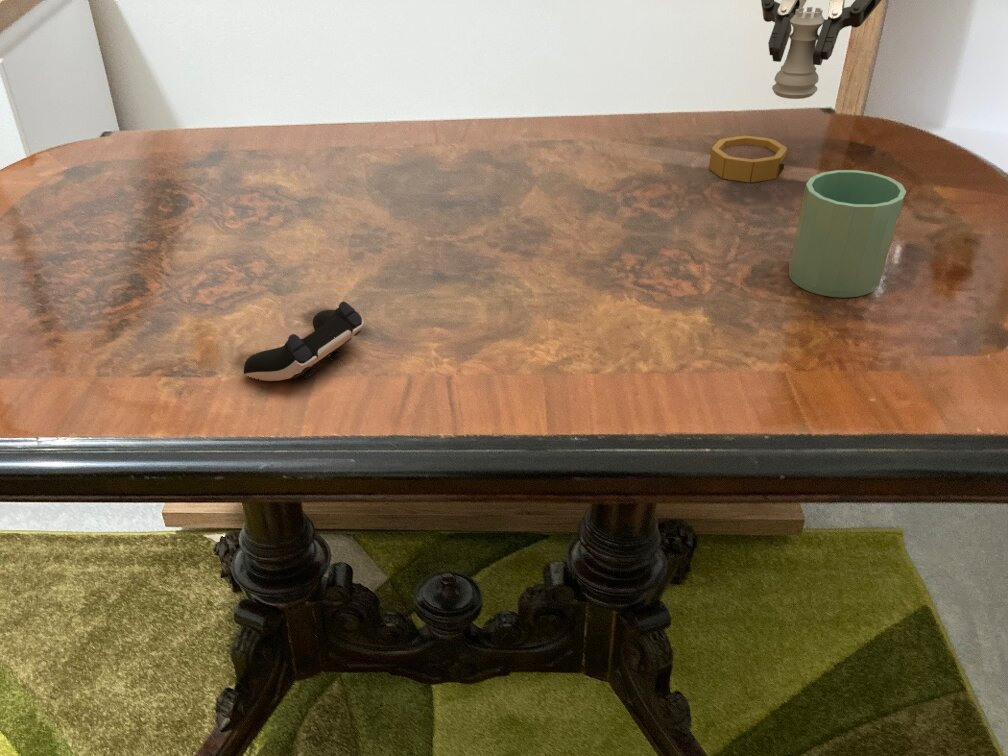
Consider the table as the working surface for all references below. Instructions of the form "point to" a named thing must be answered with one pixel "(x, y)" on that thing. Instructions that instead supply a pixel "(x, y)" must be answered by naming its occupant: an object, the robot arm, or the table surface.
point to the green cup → (845, 232)
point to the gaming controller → (307, 346)
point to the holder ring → (747, 160)
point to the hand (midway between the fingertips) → (796, 58)
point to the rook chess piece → (800, 57)
